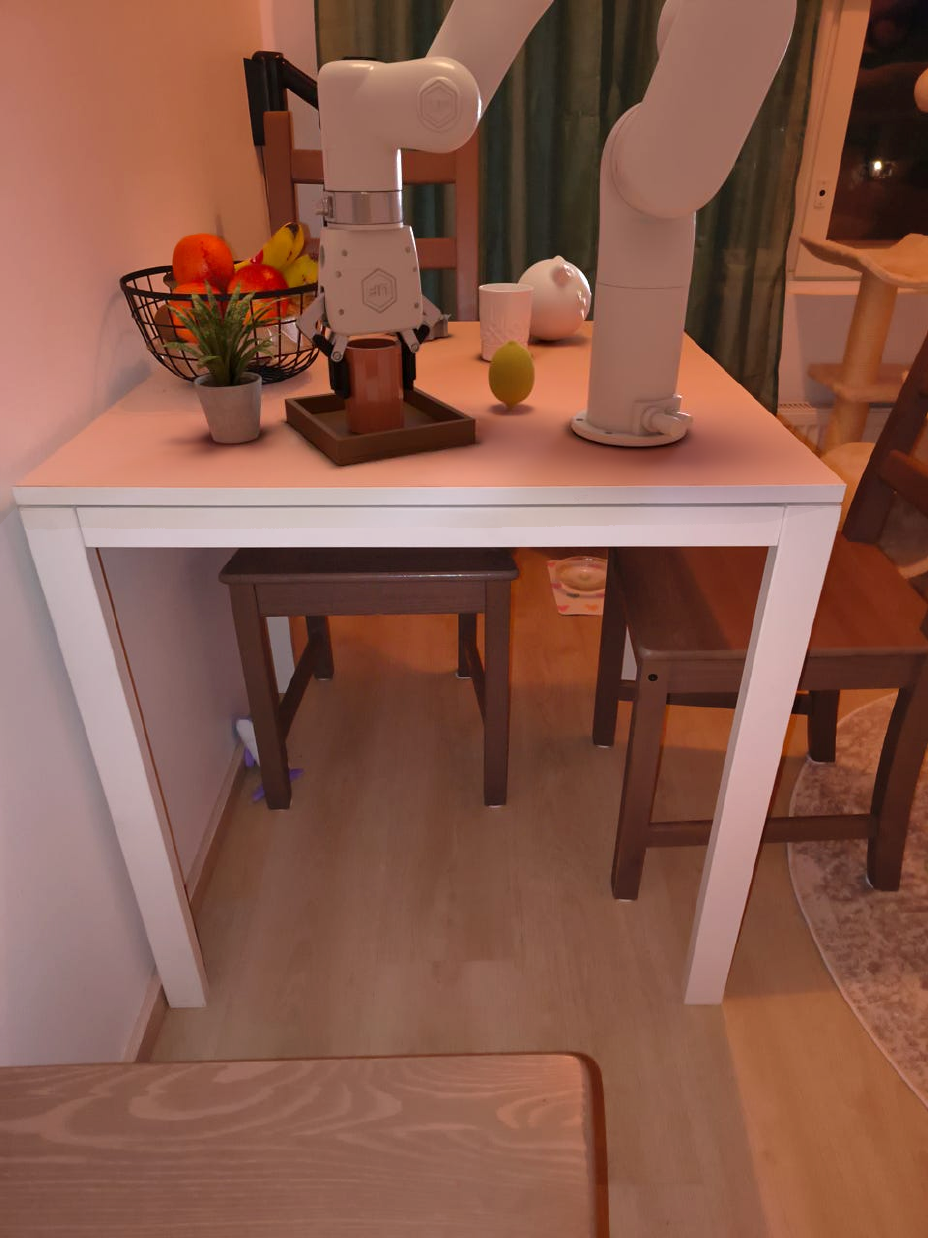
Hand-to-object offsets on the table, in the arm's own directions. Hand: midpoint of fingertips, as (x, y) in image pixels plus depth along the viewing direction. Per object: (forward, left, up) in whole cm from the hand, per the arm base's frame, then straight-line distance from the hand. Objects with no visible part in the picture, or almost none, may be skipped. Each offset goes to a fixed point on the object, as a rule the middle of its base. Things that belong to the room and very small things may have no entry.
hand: (374, 390), depth 91 cm
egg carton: (+47, -27, -5) cm, 54 cm away
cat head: (+33, -44, -5) cm, 55 cm away
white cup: (+25, -31, -5) cm, 40 cm away
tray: (0, 0, -5) cm, 5 cm away
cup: (0, 0, -4) cm, 4 cm away
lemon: (+1, -18, -5) cm, 19 cm away
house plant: (+4, +14, -5) cm, 16 cm away
